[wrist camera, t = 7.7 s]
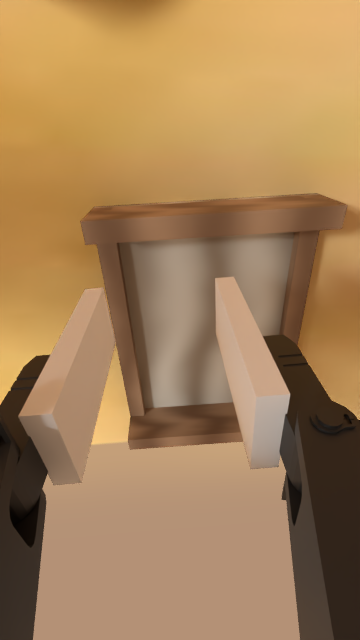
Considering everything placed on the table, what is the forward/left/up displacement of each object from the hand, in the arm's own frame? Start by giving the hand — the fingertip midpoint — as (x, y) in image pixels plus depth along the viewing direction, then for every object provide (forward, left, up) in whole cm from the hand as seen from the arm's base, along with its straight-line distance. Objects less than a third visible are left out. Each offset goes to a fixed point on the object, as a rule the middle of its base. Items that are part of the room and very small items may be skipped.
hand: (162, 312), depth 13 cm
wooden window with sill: (+3, -9, -13) cm, 16 cm away
